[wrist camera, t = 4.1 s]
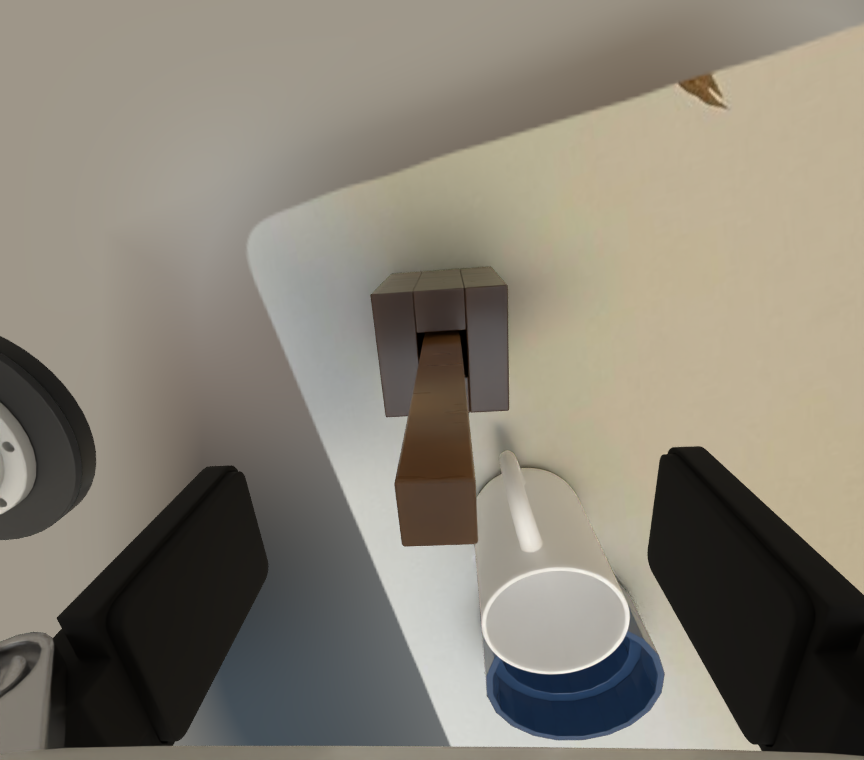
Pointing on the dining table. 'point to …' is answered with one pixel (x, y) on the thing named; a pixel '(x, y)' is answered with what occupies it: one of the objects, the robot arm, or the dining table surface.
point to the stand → (443, 311)
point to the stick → (438, 451)
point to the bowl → (580, 690)
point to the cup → (543, 575)
